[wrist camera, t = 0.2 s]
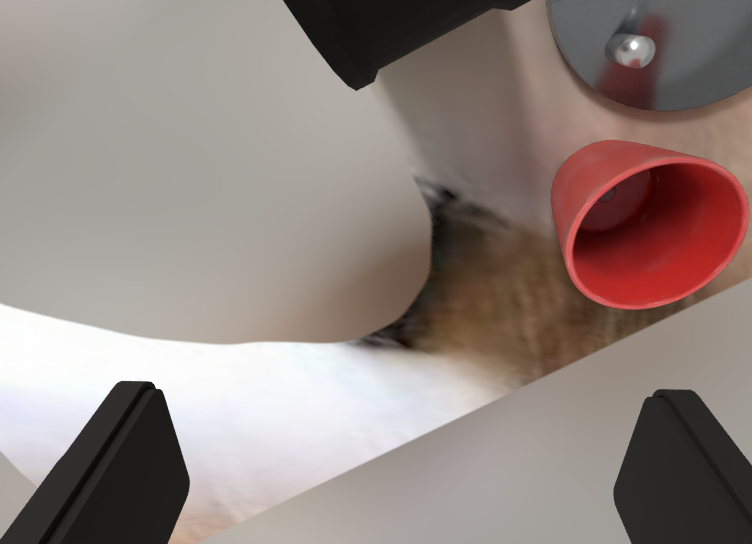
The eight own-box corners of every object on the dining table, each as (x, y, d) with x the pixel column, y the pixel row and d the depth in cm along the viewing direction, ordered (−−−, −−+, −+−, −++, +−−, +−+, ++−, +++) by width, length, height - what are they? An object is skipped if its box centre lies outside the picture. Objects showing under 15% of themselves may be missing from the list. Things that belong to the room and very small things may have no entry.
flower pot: (659, 242, 41) (728, 305, 32) (527, 252, 42) (560, 317, 33) (685, 113, 36) (774, 148, 27) (533, 128, 37) (574, 167, 28)
